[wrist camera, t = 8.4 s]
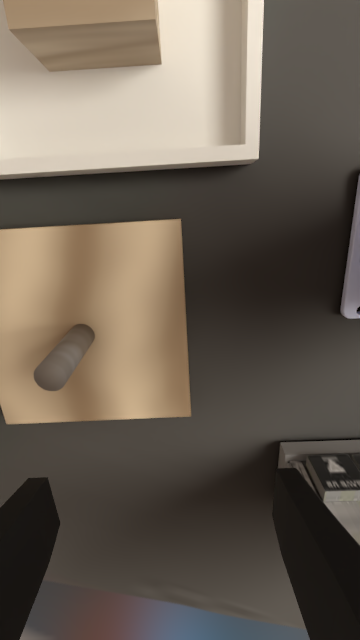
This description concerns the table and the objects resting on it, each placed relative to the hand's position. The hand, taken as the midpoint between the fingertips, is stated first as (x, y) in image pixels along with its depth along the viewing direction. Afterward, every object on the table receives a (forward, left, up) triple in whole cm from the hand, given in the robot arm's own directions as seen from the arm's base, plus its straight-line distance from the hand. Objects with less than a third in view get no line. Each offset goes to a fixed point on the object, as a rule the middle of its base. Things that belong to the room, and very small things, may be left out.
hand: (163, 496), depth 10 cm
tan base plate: (+5, -2, -10) cm, 11 cm away
